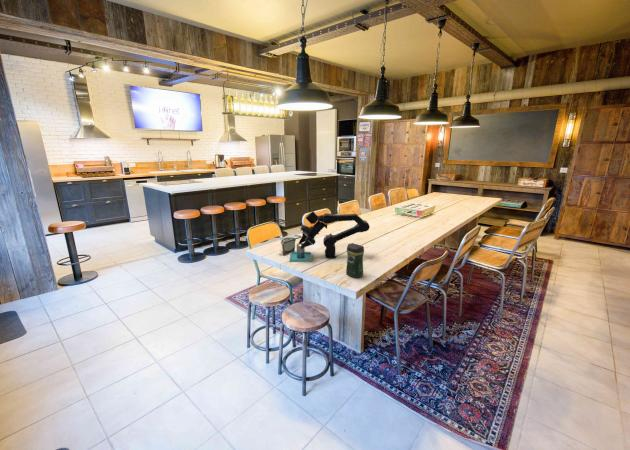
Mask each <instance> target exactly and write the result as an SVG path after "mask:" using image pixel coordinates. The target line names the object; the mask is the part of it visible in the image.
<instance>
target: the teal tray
mask: <svg viewBox="0 0 630 450" xmlns="http://www.w3.org/2000/svg"><path fill="white" fill-rule="evenodd" d="M289 255H290V256H289V262H290V263H306V262H307V263H310V262H312V251H305V258H302V259H300V258H297V251H295V252H291V253H290V254H289Z"/></svg>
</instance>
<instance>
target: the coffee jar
mask: <svg viewBox="0 0 630 450" xmlns="http://www.w3.org/2000/svg"><path fill="white" fill-rule="evenodd" d="M364 253H365V247H364V246H363V245H361V244H357V243H354V242H351V243H348V244H347V247H346V254H347V255H346V256H347V260H346V268H345V269H346V270H345V273H346V275H347V276H349V277H353V278H361V277H362V276H363V275H364V262H363V261H364Z"/></svg>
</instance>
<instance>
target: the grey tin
mask: <svg viewBox="0 0 630 450" xmlns="http://www.w3.org/2000/svg"><path fill="white" fill-rule="evenodd" d="M303 243H304V242H303ZM303 243H299V242H298V243H296V252H297V258H300V259H302V258H305V252H306V251H305V248H306V247H304V248H301V246H302V244H303Z"/></svg>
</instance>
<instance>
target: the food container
mask: <svg viewBox="0 0 630 450" xmlns="http://www.w3.org/2000/svg"><path fill="white" fill-rule="evenodd" d="M296 241H297V239H296V237H291V236H290V237H284V238H282V239H281V240H280V245H281V248H282V254H283V256H288V255H290V254H291V252H296Z"/></svg>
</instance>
